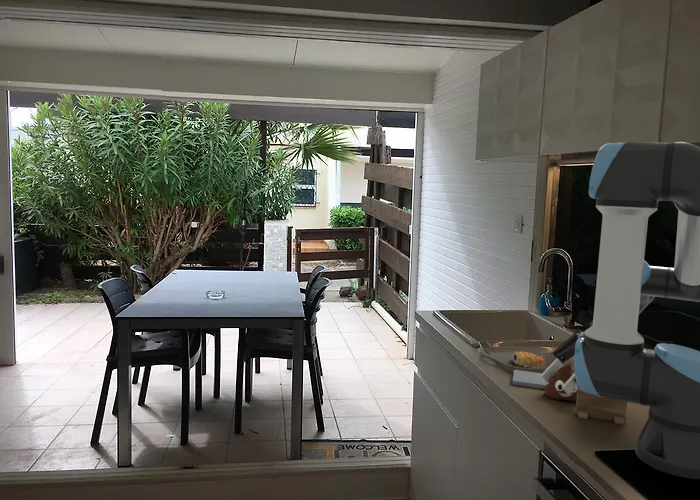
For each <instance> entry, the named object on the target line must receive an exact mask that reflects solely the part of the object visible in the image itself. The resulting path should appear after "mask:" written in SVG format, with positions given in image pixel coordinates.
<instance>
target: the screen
mask: <svg viewBox="0 0 700 500" xmlns="http://www.w3.org/2000/svg"><path fill="white" fill-rule="evenodd" d="M627 408H628V402H625V401H620V400H615V399H610V398H606V397H598V396H597V395H593V394H589V393H585V392H583V391H582V390H581V389H580V388H579V387H578V389H577V401H576V402H575V416H577V418H578V419H583V420H588V418H592V419H593V418H594V419H600V420H606V421H613V423H614V424H615V425H621V426H624V425H625V423H626V418H627Z"/></svg>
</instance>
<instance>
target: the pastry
mask: <svg viewBox="0 0 700 500" xmlns="http://www.w3.org/2000/svg"><path fill="white" fill-rule="evenodd" d="M512 362H513V363H514V364H515V365H517V366H519V367H525V366H526V367H530V368H531V367H541V366H544V365H545V359H544V358H543V357H542V356H540V355H536V354H535V353H532V352H528V351H514V353H513V355H512Z"/></svg>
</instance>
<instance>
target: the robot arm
mask: <svg viewBox="0 0 700 500" xmlns="http://www.w3.org/2000/svg"><path fill="white" fill-rule="evenodd" d="M590 172H591V173H590V177H589V183H588V185H589V187H588V195H589V198H592V199H594V200H595V199H596V200H595V208H596V209H597V211H599V212H600V213H601V214H602V219H601V221H602V222H601V231H600V241H599V242H600V243H599V253H598V265H597V267H598V268H597V275H596V276H597V277H596V286H595V287H596V288H595V297H594V309H593V319H592V320H591V321H590V323H589V327H588V328H587V329H585V331H581V330H580V328H578V329H575V331H574V332H573V333H572V335H570V337H569V338H566V340H565V341H564V342H562V343H561V344H560V345H559V346H558V347H557V348H555V350H553V351H552V355H553V356H554V359H553V360H552V361H551V362H550V363H549V364H548V365H547V368H546V369H545V370H544V371H543V372H541V373H542V374H541V377H542V378H543V379H544V380H545V381H546V382H547V383H548V382H549V378H550V377H552V376H554V373H555V372H557V371H558V370H559V368H561V367H562V366H564V365H565V364H564V363H565V362H567V361H568V360H570V359H572V358H573V362H574V363H573V365H574V366H573V367H574V372H573V373H574V374H573V375H572V376H571V377H570V378H569V380H568V381H567V382H566V383H565V384H564V385H563V386H562V388H563V389H564V391H565V392H566V393H567V394H568V395H570V394H571V392H572V391H573V390H574V389H575V388H576V387H577V386H578V387H579V388H580V389H581V390H582V391H583V392H585V393H589V394H593V395H597V396H598V397H606V398H610V399H615V400H620V401H625V402H627V403H630V404H635V405H640V406H646V407H648V417H647V420H646V421H645V424H644V426H643V427H642V429H641V431H640V432H639V435H638V437H637V439H636V442H635V455H636V456H637V458H638V459H639V460H640V461H642V462H643V463H644V464H645V465H647V466H649V467H652V468H653V469H655V470H657V471H660V472H663V473H666V474H669V475H672V476H675V477H680V478H685V479H693V480H700V351H699V350H696V349H694V348H691V347H687V346H683V345H680V344H674V343H666V342H665V343H663V342H662V343H657V344H656V345H655V347H654V349H648V348H644V345H645V339H644V337H643V336H642V335H641V334H640V333H639V332H638V325H639V324H638V323H639V316H640V314H641V313H642V312H643V311H644V310H645V308H647V306H648V305H650V304H651V302H653V301H654V299H655V297H658V298H664V299H665V298H666V299H674V300H675V299H677V300H682V301H689V302H690V301H691V302H696V303H699V302H700V146H698V145H696V144H693V143H689V142H683V141H676V142H654V141H653V142H648V141H644V142H643V141H642V142H641V141H639V142H638V141H637V142H635V141H624V142H612V143H609V142H608V143H606V144H604V145H602V146H601V147H600V148H599V150H598V152H597V154H596V156H595V159H594V161H593V165H592V168H591V171H590ZM662 201H663V202H671V201H672V202H673V203H674V206H675V207H676V209H677V210H678V213H677V227H676V228H677V229H676V241H675V256H674V267H664V266H654V265H650V264H649V263H648V262H647V261H646V260H645V254H646V243H647V242H646V241H647V234H648V233H647V232H648V221H649V217H650V216H651V215H652V214H654V213H655V212H657V211H658V206H659V202H662Z"/></svg>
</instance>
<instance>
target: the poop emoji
mask: <svg viewBox="0 0 700 500" xmlns="http://www.w3.org/2000/svg"><path fill="white" fill-rule="evenodd" d="M574 373H575V372H573V368H572V363H570V362H569V363H566V364H564V366H562V367H561V368H559V370H558V371H557V372H555V373H554V376H552V377H550V378H549V384H547V385H546V386H545V388H544V389H543V393H544V394H545V395H546V397H548V398H549V399H550V398H551V400H552V399H553V400H556V401H557V400H559V401H561V400H562V401H563V400H566V401H569V402H575V403H576V401H577V389H578V386H577V387H576V388H575V389H574V390H573V391H572V392H571V394H570V395H568V394H567V393H566V392H565V391H564V389H563V388H562V386H563V385H564V384H565V383H566V382H567V381H568V380H569V378H570V377H571V376H572V375H573V374H574Z"/></svg>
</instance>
